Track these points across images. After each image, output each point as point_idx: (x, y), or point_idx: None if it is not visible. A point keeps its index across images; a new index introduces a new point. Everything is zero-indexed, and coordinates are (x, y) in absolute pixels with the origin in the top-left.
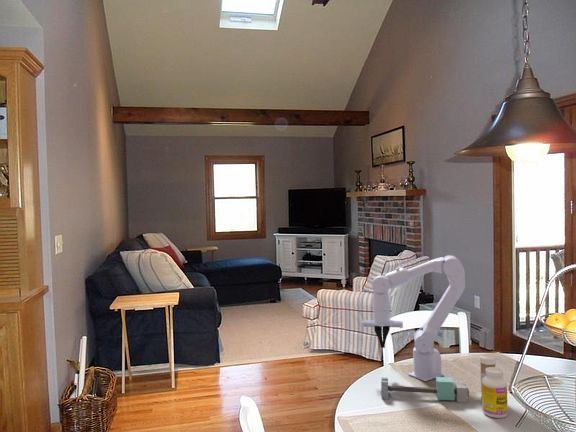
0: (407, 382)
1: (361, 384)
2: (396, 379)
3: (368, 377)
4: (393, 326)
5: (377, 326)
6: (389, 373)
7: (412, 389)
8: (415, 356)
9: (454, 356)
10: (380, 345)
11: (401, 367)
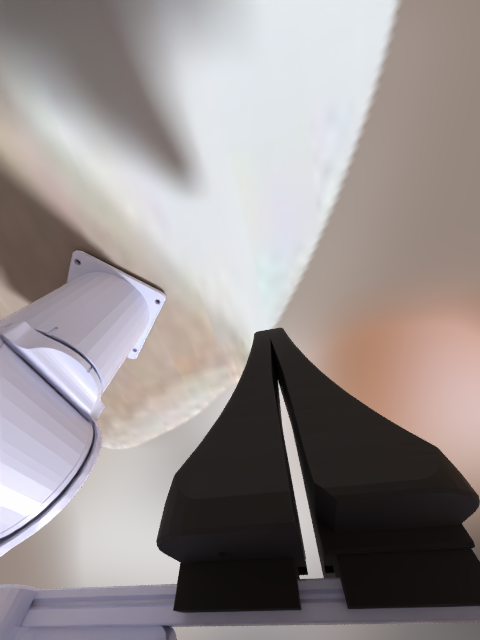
0: (137, 216)
1: (344, 84)
2: (192, 234)
3: (314, 214)
4: (119, 609)
5: (426, 600)
6: (237, 288)
7: None
8: (76, 326)
9: (118, 437)
10: (287, 335)
11: (213, 348)
